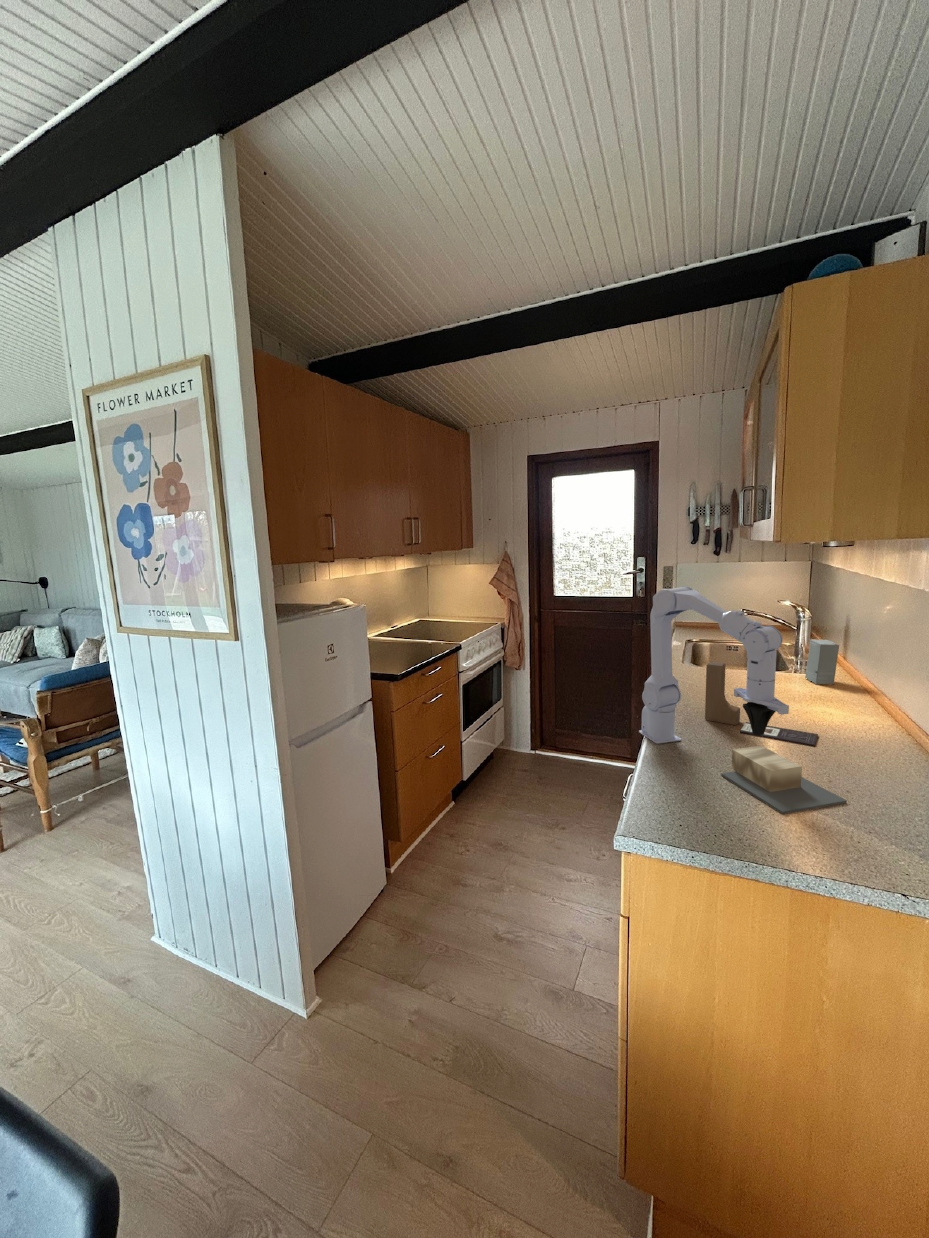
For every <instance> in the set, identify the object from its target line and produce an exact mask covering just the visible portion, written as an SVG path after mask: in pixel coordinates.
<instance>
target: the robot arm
mask: <svg viewBox="0 0 929 1238" xmlns="http://www.w3.org/2000/svg"><path fill="white" fill-rule="evenodd" d="M691 610H692V611H693V612H696V613H698V614H700V615H702V616H703V617H706V618H707V619H709V620H712V621H714V622H715V623H718V626H719V630H721V631H722V632H724V633H725V634H726V635H728V636H730V637H732V638H734V639H735V640H736V641H738V642H740V643H742V646H743V648H744V650H745V651H746V658H747V663H746V664H747V665H746V666H747V667H746V687H745V688H743V687H736V688H734V689H733V696H734V697H736V698H741V699H742V700H743V701H745V702H746V703H745V702H744V703H742V708H743V710H744V711H745V714H746V715H747V718H748V720H749V723H750V725H751V729H752V733H753V734H755V735H763V734H764V732H765V730H766V727H767V726H768V724H769V722H770V720H771V718H772V717H773V716H774V714H775V713H776V712H777V714H779V715H789V711H790V705H789V704H787V703H784V702H783V701H781V700H780V699H778V698H777V697H775V690H776V688H775V687H776V672H777V650H778V649H779V648H780V647H781V646H782V644H783V635H782V633H781V631H780V630H779V629H777V628H776V627H775V626H773V625H762V622H760V621H759V620H757V621H755V620H753V619H751V618H750V617H747V616H746V615H744V614H745V612H744V611H741V610H729V611H727V610H725V609H724V608H722V607H721V606H719V605H717V604H716V603H714V602H713V601H711V600H710V599H708V598H707V597H705V596H703V595H702V594H701V593H700V592H699V591H698V590H696V589H693V588H692V587H690V586H681V587H676V588H675V587H674V588H661V589H660V590H658V591H657V592H656V593H655V594H654V595H653V596H652V608H651V611H650V616H649V617H650V619H649V620H650V623H649V624H650V659H651V660H650V663H651V669H650V670H651V674H650V676H649V677H648V678H647V680H646V681H645V682H644V688H643V691H642V695H641V699H642V701H643V704H644V706H643V708H642V710H641V729H640V730H638V733H640V734H641V735H642V736H644V737H646V738H647V739H649V740H650V741H652V742H653V743H655V744H656V745H657V744H666V743H672V742H673V743H674V742H679V741H682V738H681V737H679V736H677V735H676V734H675V730H676V729H675V728H676V727H675V725H676V723H675V722H676V708H677V705H678V704H679V703H680V701H681V700H682V692H681V689H680V687H679V680H678V679H677V678H676V677H675V676H673V649H672V647H673V646H672V645H673V644H672V643H673V642H672V641H673V640H672V639H673V638H672V635H673V634H672V632H673V631H672V621H673V620H674V619H675V618H676V617H677V616H678V615H680V614H681V613H684V612H686V611H691Z"/></svg>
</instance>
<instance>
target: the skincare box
mask: <svg viewBox="0 0 929 1238" xmlns="http://www.w3.org/2000/svg"><path fill="white" fill-rule="evenodd" d="M839 649H840V644H838V643H835V641H831V640H829V639H814V638H812V639H810V640H809V648H808V655H807V663H806V669H805V670H806V671H805V678H807V679H808V680H807V679H806V680H807V681H809V682H811V681H812V682H811V683H813V682H814V683H813V684H815V685H820V684H834V685H835V678H836V671H837V663H838V656H839V651H840V650H839Z"/></svg>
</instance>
